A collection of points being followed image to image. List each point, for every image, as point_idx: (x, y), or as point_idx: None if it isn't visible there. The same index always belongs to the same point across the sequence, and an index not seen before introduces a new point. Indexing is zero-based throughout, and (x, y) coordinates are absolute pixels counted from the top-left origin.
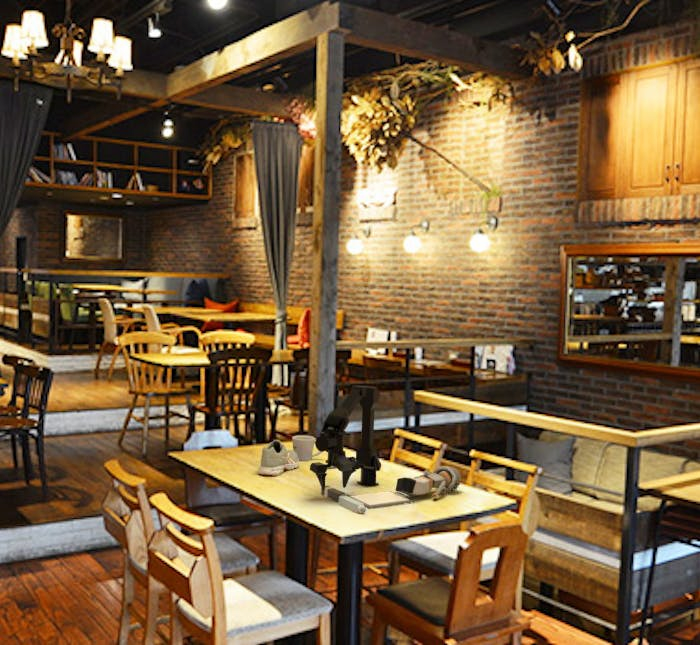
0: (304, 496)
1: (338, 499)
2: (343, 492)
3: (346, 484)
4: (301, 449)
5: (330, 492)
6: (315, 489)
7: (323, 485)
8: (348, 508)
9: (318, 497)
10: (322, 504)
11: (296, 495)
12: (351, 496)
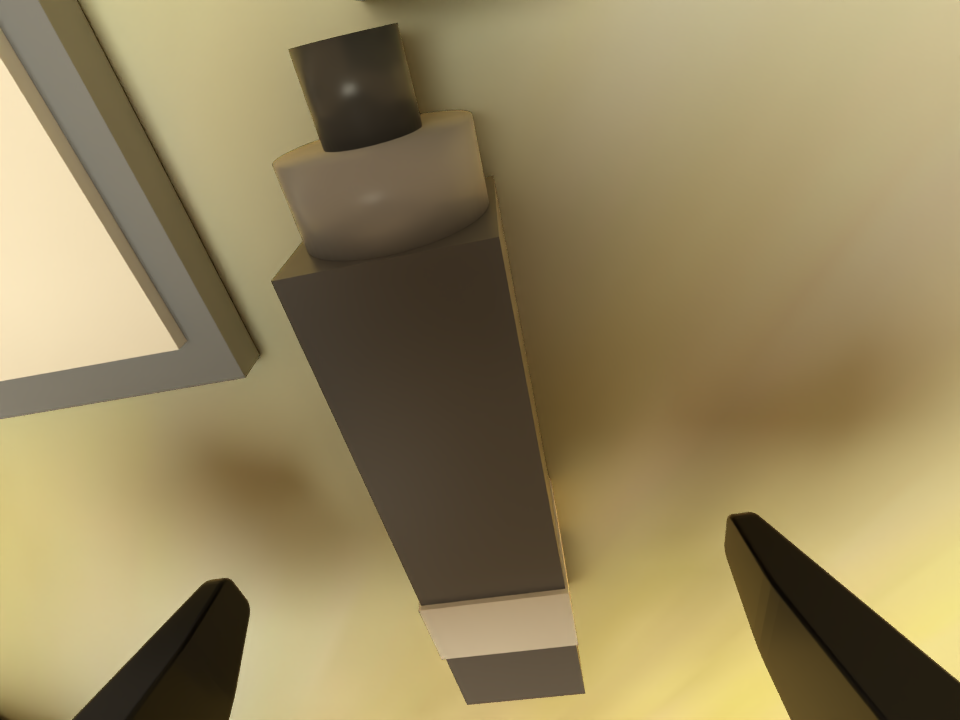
0: (833, 546)
1: (491, 189)
2: (309, 359)
3: (149, 644)
4: None
5: (548, 493)
6: None
7: (861, 607)
8: None
9: (685, 485)
10: (940, 57)
11: (891, 588)
12: (144, 323)
